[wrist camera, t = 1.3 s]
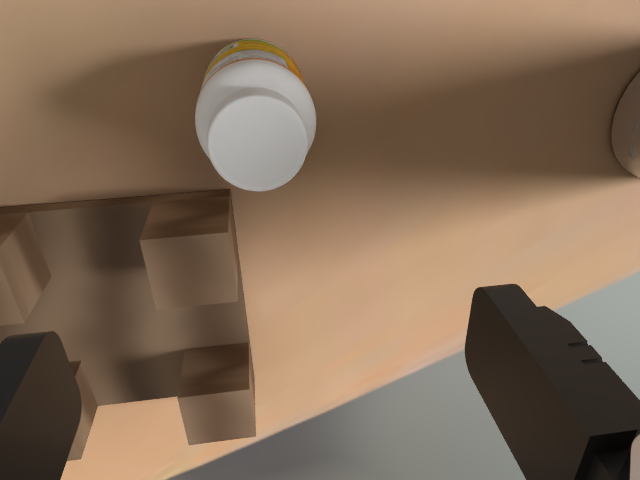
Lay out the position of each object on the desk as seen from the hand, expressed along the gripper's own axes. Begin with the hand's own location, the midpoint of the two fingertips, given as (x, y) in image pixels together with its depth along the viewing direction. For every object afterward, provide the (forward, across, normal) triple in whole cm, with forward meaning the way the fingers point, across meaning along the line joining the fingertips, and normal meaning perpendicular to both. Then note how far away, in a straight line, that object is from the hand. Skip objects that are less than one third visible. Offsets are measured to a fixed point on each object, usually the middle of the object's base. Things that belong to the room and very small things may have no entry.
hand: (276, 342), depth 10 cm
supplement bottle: (+21, 0, 0) cm, 21 cm away
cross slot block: (+21, +10, +14) cm, 27 cm away
